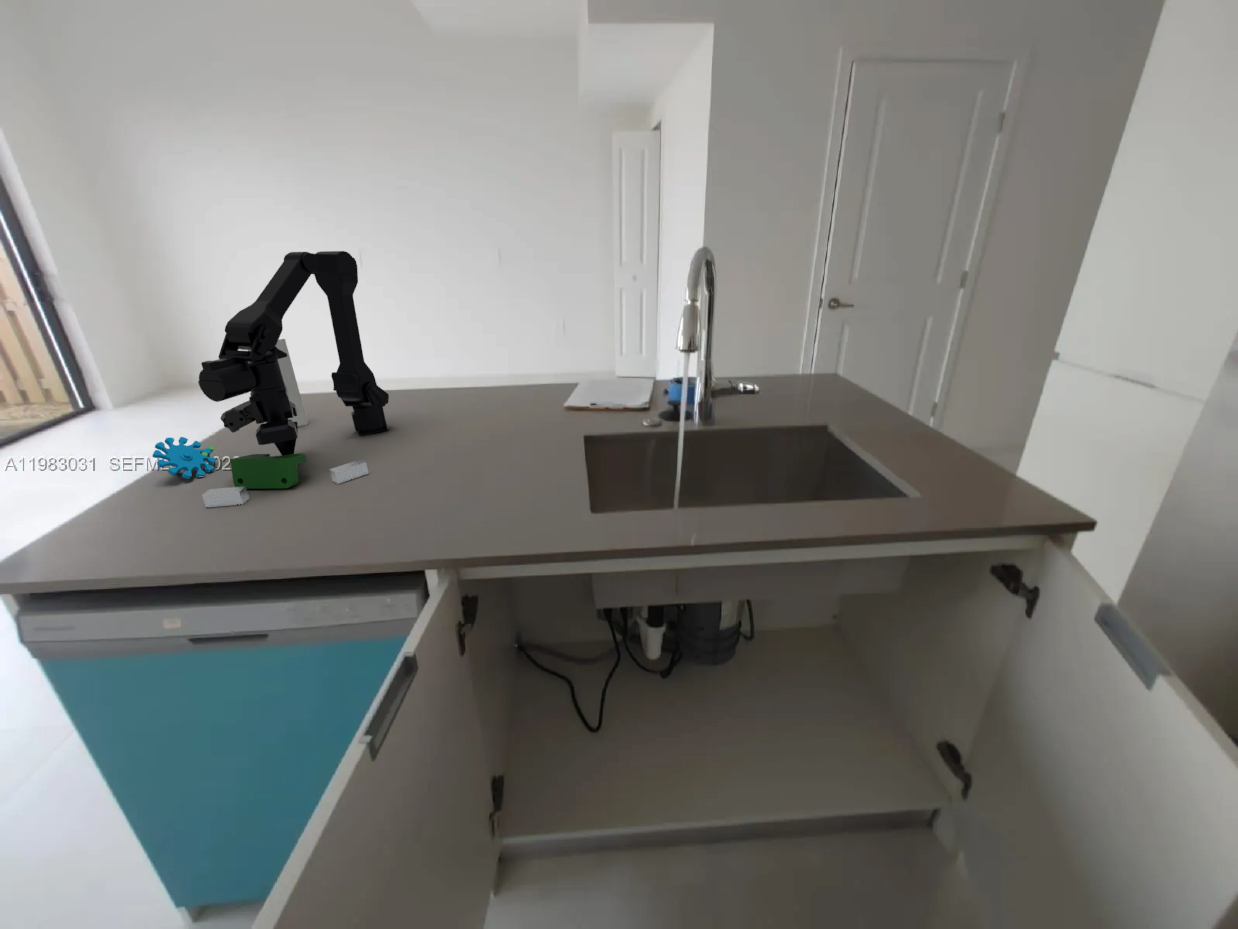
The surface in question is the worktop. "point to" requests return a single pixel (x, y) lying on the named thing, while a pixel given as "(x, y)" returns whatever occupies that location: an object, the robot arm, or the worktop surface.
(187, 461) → the gear
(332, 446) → the worktop surface
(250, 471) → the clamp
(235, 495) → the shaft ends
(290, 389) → the paper towel roll
